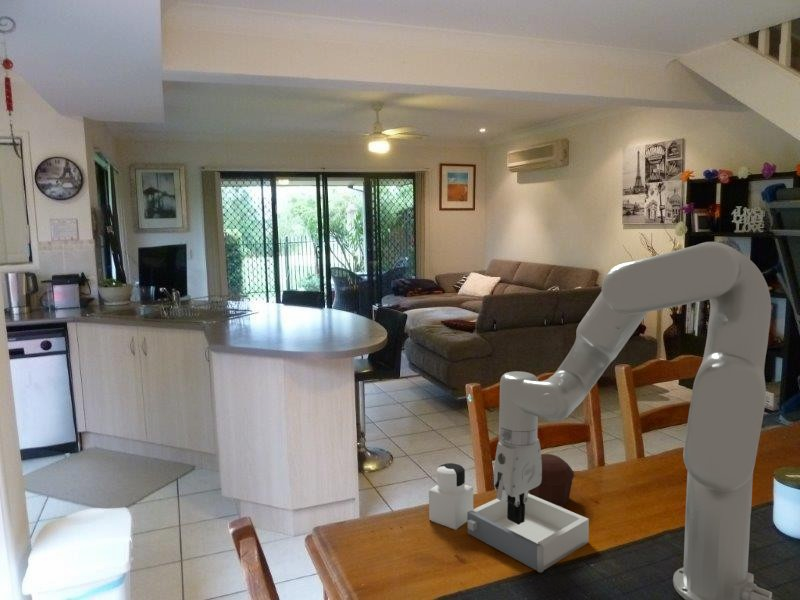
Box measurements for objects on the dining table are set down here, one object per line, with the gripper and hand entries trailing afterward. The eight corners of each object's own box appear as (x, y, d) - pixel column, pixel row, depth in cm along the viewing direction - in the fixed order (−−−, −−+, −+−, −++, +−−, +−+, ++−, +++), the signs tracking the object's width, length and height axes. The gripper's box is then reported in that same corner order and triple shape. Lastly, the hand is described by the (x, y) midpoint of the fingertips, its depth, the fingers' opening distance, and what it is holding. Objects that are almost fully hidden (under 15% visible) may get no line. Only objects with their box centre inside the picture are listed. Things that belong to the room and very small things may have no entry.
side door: (544, 570, 104) (545, 547, 103) (536, 575, 102) (537, 551, 102) (471, 531, 118) (471, 510, 118) (463, 534, 117) (463, 513, 116)
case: (588, 542, 114) (588, 518, 113) (542, 570, 104) (542, 545, 104) (517, 510, 128) (517, 488, 127) (472, 532, 118) (471, 509, 118)
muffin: (583, 507, 128) (583, 465, 127) (537, 512, 126) (538, 470, 125) (558, 485, 140) (559, 446, 139) (516, 489, 138) (516, 450, 137)
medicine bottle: (447, 508, 129) (446, 457, 128) (473, 517, 125) (473, 465, 123) (428, 520, 124) (427, 468, 122) (455, 530, 119) (455, 476, 118)
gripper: (507, 448, 106) (505, 541, 108) (556, 430, 115) (553, 516, 117) (478, 437, 111) (476, 525, 114) (526, 421, 121) (524, 502, 123)
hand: (515, 520), depth 115 cm, fingers closed
